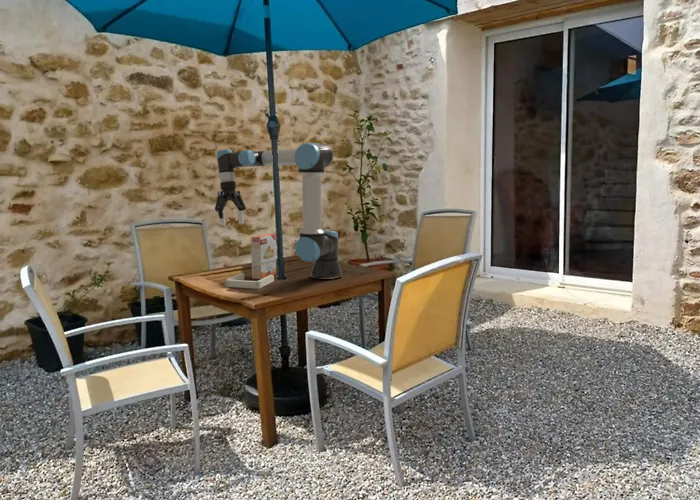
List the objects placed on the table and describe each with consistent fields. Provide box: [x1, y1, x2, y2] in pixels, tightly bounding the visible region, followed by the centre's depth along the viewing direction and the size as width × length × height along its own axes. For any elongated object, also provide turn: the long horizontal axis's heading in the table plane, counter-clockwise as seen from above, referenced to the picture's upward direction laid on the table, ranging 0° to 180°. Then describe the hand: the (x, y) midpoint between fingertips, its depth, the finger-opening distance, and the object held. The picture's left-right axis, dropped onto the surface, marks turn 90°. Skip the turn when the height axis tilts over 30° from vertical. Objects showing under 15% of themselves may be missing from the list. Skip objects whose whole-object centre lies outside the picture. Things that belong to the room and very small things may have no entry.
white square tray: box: [224, 272, 275, 290], centre depth 275 cm, size 17×17×3 cm
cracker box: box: [250, 233, 277, 281], centre depth 289 cm, size 14×6×21 cm, turn 155°
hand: (232, 224), depth 291 cm, fingers open, 13 cm apart
